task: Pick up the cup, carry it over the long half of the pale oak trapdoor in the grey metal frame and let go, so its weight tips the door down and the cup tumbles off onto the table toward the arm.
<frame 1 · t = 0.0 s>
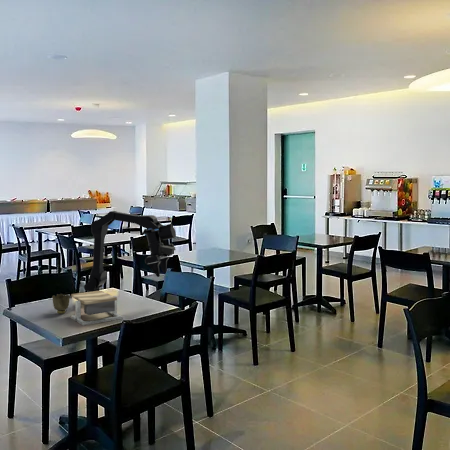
hand: (162, 274, 236), 15 cm above the table, tool pointing down, fingers open, 9 cm apart
trapdoor frame: (96, 318, 218), on the table
trapdoor: (93, 302, 220), point 6 cm above the table, hinge at 0.0°
cup: (61, 313, 224), on the table
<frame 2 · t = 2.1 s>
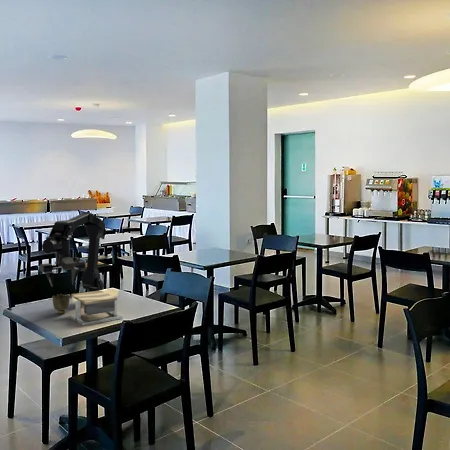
hand: (62, 285, 222), 13 cm above the table, tool pointing down, fingers open, 9 cm apart
nothing on the table moved.
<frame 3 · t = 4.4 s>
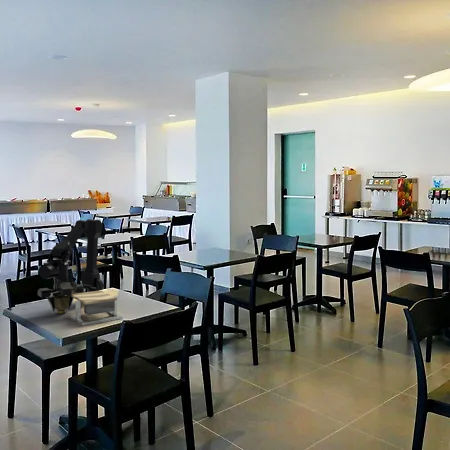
hand: (61, 309, 223), 2 cm above the table, tool pointing down, fingers closed on cup, 6 cm apart
cup: (61, 313, 224), on the table, touching gripper
everything else where it was.
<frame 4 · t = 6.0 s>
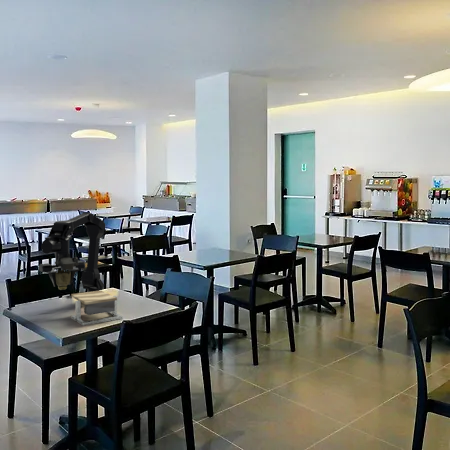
hand: (62, 285, 222), 12 cm above the table, tool pointing down, fingers closed on cup, 6 cm apart
cup: (62, 289, 222), point 11 cm above the table, touching gripper
everything else where it was.
when the fingers open (12 cm above the table, at t = 7.6 s): cup drops 2 cm, point 9 cm above the table.
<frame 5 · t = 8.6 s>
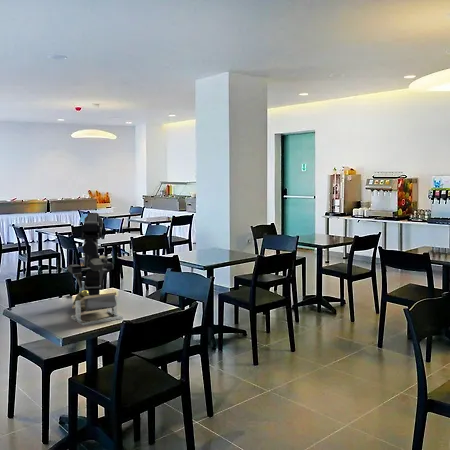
hand: (91, 286, 221), 12 cm above the table, tool pointing down, fingers open, 9 cm apart
trapdoor: (95, 305, 219), point 5 cm above the table, hinge at -27.9°
cup: (85, 291, 227), point 9 cm above the table
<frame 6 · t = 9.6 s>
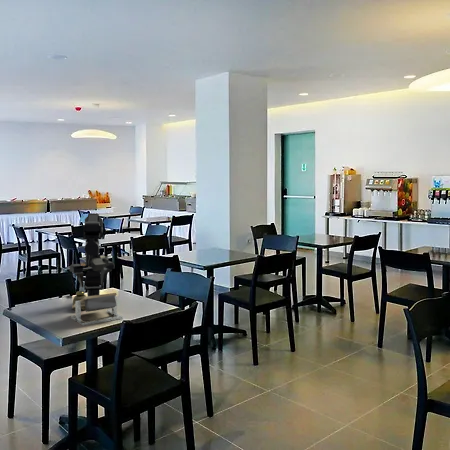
hand: (92, 285, 224), 12 cm above the table, tool pointing down, fingers open, 9 cm apart
trapdoor: (95, 305, 219), point 5 cm above the table, hinge at -26.1°
cup: (80, 291, 231), point 8 cm above the table
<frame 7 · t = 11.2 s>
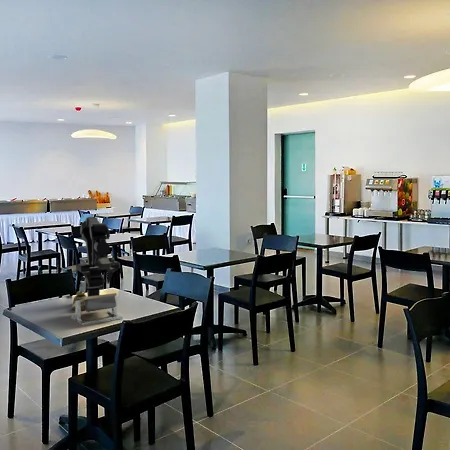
hand: (98, 284, 232), 11 cm above the table, tool pointing down, fingers open, 9 cm apart
trapdoor: (95, 305, 219), point 5 cm above the table, hinge at -24.5°
everything else where it was.
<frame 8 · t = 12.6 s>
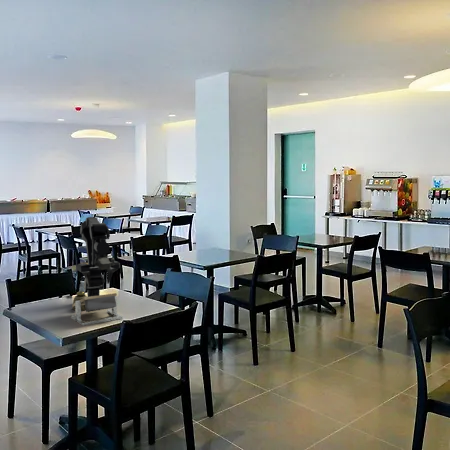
hand: (98, 284, 232), 11 cm above the table, tool pointing down, fingers open, 9 cm apart
trapdoor: (94, 305, 219), point 5 cm above the table, hinge at -23.8°
everything else where it was.
at the end: cup inside the target area on the table beside the trapdoor (1.5 cm from its centre), point 7.4 cm above the table; cup touching table; the gripper is holding nothing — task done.
